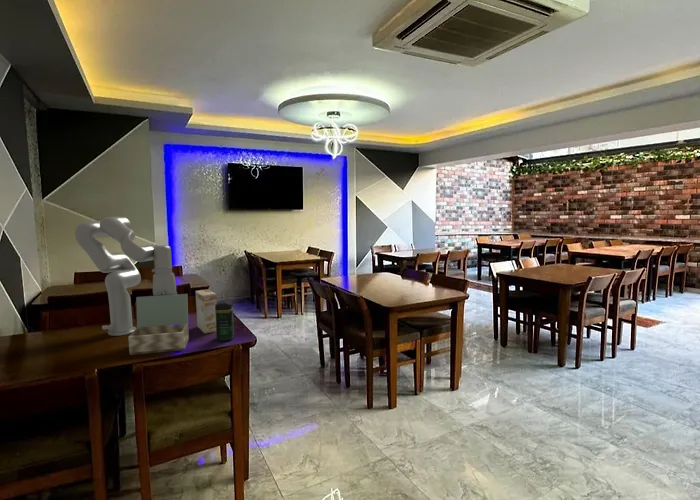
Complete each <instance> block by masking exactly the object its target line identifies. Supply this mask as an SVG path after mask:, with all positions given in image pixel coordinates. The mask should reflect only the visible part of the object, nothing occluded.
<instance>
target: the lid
mask: <svg viewBox="0 0 700 500" xmlns="http://www.w3.org/2000/svg"><path fill="white" fill-rule="evenodd" d="M135 298H136V299H135V300H136V301H135V302H136V328H140V327H152V326H165V325H177V324H189V310H188V309H189V308H188V307H189V305H188V304H189V303H188V293H181V294H180V293H179V294H178V293H177V295H164V293H161V296H153V295H149V296H148V295H147V296H136V297H135Z"/></svg>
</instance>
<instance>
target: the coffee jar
mask: <svg viewBox="0 0 700 500" xmlns="http://www.w3.org/2000/svg"><path fill="white" fill-rule="evenodd" d="M215 313H216V332H215V333H216V341H220V342H227V341H232V340H233V339H234V336H235V330H234V325H235V324H234V304H233V301H232V300H230V299H221V300H219V301H218V302H217V303H216V305H215Z"/></svg>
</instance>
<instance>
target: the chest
mask: <svg viewBox="0 0 700 500" xmlns="http://www.w3.org/2000/svg"><path fill="white" fill-rule="evenodd" d="M189 341H190V337H189V323H187V324H174V325H162V326H150V327H138V328H137V327H136V329H135V331H134V332H133V333H130V334H129V336H128V351H129V355H130V356H135V355H146V354H157V353H167V352H176V351H185V349H186V347H187V345H188V343H189Z"/></svg>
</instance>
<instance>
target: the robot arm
mask: <svg viewBox="0 0 700 500" xmlns="http://www.w3.org/2000/svg"><path fill="white" fill-rule="evenodd" d="M131 226H132V224H131V221H130V220H129V219H128V218H127V217H125V216H121V215H120V216H107V217H103V218H102V219H101V220H98V221H85V222H81V223H79V224H78V225H77V226H76V227H75V229H74V230H75V231H74V237H75V241H76V243H77V244H78V246H79V247H81V248H82V250H83V251H85V253H86V254H87V256H89V258H90V260H91V261H92V263H93V264H94V265H95V267H96V268H97V269H98V271H100V272H101V273H102V274H103V273H104V274H106V273H107V275H106V277H105V279H104V284H105V288H106V292H107V296H108V304H109V307H108V308H109V317H110V319H109V320H110V324H109V325H102V327H101V330H102V331H107V334H108V335H109V336H112V337H113V336H114V337H117V336H126V335H131V334H132V333H133V332H134V331H135V329H136V328H137V326H134V325H133V315H132V314H133V313H132V303H131V302H132V300H131V299H132V298H131V295H130V293H129V291H128V290H127V289H129V288H132V287H135V286H137V285H139V284H140V283H141V281H142V277H141V273H140V271H139V270H138V268H137V267H136V265H135V264H134V263H133V261H135V262H137V263H138V262H139V263H143V262H149V261H150V262H151V261H154V268H152V269H151V272H152V273H154V274H153V275H152V296H161V293H164V295H177V294H178V291H177V290H178V289H177V288H178V287H177V283H176V282H177V281H176V275H175V273H174V272H173V263H172V261H173V260H172V250H171V249H172V248H171V246H170V245H166V244H165V245H157V244H148V245H138V244H136V243H134V242H133V240H134V239H135V237H136V233H135V231H134V230H133V229H132V227H131ZM107 237H108V238H109V237H110V238H112V239H114V240H115V241H116V242H117V243H119V244H120V248H121V251H122V252H110V251H109V250H108V249H107V247H106V245H104V244H103V243H102V242H100V241H99V240H97V239H98V238H99V239H100V238H101V239H102V238H107ZM132 260H133V261H132Z"/></svg>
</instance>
